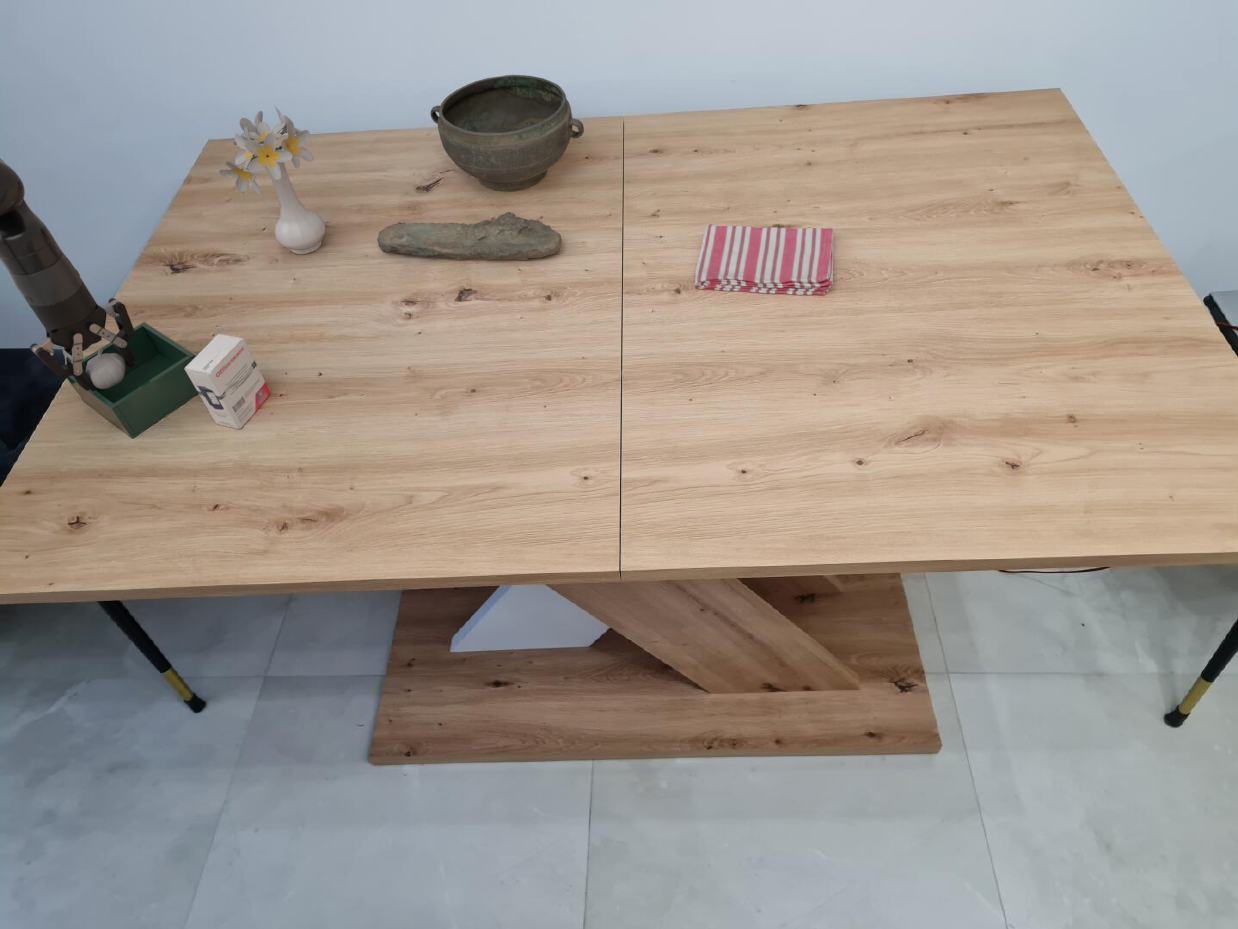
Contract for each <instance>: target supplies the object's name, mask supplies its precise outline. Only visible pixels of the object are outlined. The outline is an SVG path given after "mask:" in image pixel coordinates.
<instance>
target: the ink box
mask: <svg viewBox="0 0 1238 929" xmlns="http://www.w3.org/2000/svg"><path fill="white" fill-rule="evenodd" d="M247 343H248V342H246V339H245V337H239V336H233V335H230V334H224V333H218V334H216V335H215V336H214V338H212V339H211V341H209V343H208V344H206V346H205V347H204V348H203V349H202V350H200V352H199V353H198V354H197V355H195V356H196V357H195V358H194V359H193V360H192V361H191V362H190V363H189V364H188V365H187V366H186V367H185V368H184V369H185V371H186V373H187V374H188V376H189V378H190V379H191V381H192V383H193V385H194V386H195V388H196V390H197V391H198V393H199V394H198V395H199V397H200V399H201V400H202V402H203V403H204V406H205V407H206V409H207V410H208V413H209V414H210V416H211V417H212V419H213V421H214V423H215V424H216V425H221V426H223V427H228V428H231V429H236V430H241V429H242V428H243V427H244V426H245V425H246V423H248V421H249V420H250V419H251V417H252V416H253V415H254V414H255V413H256V412H257V411H258V409H259V408H260V407H261V406H262V405H263V404H264V403H265V401H266V400H267V399H268V398H269V397H270V396H271V394H272V393H271V391H270V389H269V387H268V384H267V383H266V381H265V379H264V376H263V375H262V372H261V370H260V368H259V366H258V363H257V361H256V360H255V358H254V356H253V353H252V352H251V350H250V348H249V344H247Z"/></svg>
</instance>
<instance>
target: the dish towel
mask: <svg viewBox="0 0 1238 929" xmlns="http://www.w3.org/2000/svg"><path fill="white" fill-rule="evenodd" d="M702 235H703V236H702V241H701V246H700V250H699V254H698V258H697V263H696V267H695V274H694V276H695V277H694V284H693V285H694V287H695V288H696V289H698V290H714V291H723V292H749V293H758V294H771V295H776V294H781V295H791V296H793V295H795V296H796V295H798V296H813V295H818V296H825V294H826V292H829V291H830V289H831V288H832V286H833V285H834V228H832V227H831V228H830V227H827V228H822V227H805V228H803V227H800V228H788V227H778V226H777V227H775V226H773V227H772V226H771V227H756V226H749V225H748V226H747V225H745V226H744V225H716V224H714V223H713V224H712V223H710V224H708V225H707V226H705V228H704V232H703V234H702Z"/></svg>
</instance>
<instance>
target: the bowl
mask: <svg viewBox="0 0 1238 929" xmlns="http://www.w3.org/2000/svg"><path fill="white" fill-rule="evenodd" d="M437 113H438V114H437ZM430 117H431V118H430V119H431V120H432V122H433V123H435V124H437V130H438V133H439V138H440V141H441V144H442V147H443V150H444V152H445V153H446V154H447V156H448V158H450V160H451V161H452V162H453V163H454V164H455V165H456V166H457V167H458V168H459V169H460V170H462V171H463V172H464V173H466V174H468V175H470V176H472V177H473V178H476V179H477V180H478V181H479V183H480V184H481V185H482V186H483V187H485V188H486V189H489V190H493V191H494V192H495V191H496V192H504V193H505V192H507V193H511V192H518V191H523V190H526V189H529V188H531V187H534V186H536V185H538V184H539V183H541V182H542V181H543V180H544V179H545V178H546V176H547V174H548V170H549V169H550V168H552V167H553V166H554V165H555V164H557V162H559V160H561V158H562V157H563V156H564V154H565V152H566V151H567V149H568V147H569V144H570V141H571V139H573V140H574V139H579V138H581V137H582V136H583V135H584V132H585V128H584V124H583V122H582V121H581V120H579V119H578V118H573V114H572V107H571V104H570V102H569V100H568V99H567V96H566V93H565V91H564V90H563V88H562V87H561V86H560V85H559V84H557V83H555V82H553V81H551V80H548V79H546V78H543V77H539V76H533V75H525V74H506V75H501V76H493V77H487V78H483V79H479V80H476V81H473V82H470V83H468V84H465V85H463V86H461V87H460V88H458V89H456V90H454V91H453V92H451V93H449V94H448V95H447V96H446V97H445V98H444V99H443V100H442V102H441V104H440V105H435V106H433V107H432V108H431V110H430ZM573 127H575V128H577V130H578V131H576V130H573Z"/></svg>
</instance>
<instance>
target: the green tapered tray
mask: <svg viewBox="0 0 1238 929" xmlns="http://www.w3.org/2000/svg"><path fill="white" fill-rule="evenodd" d="M133 328H134V331H135V333H136V335H135V337H134V338H130V339H129V341H128V343H127V345H128V347H129V348H130V350H131V352H132V353H133V355H134V356H135V361H134V362H133V363H134V364H135V366H133V367H131V368H130V367H129V366H127V365H126V367H125V374H124V377H123V379H122V380H121V382H119V383H118V384H116V385H114V386H113V387H110V388H108V389H100V388H97V387H96V386H95V387H96V388H97V390H95V391H94V392H92V391H90V390H88V391H87V390H85V389H83V388H82V387H81V386H80V385H79V384H78V383H77V381H76V380H75V378H74V377H73V376H69V377H68V378H67V379H66V380H67V381H68V382H69V383H70V385H71V387H72V388H73V389H74V391H75V392H76V393H77V395H78V396H79V398H80V399H81V400H82V402H83V403H85V404H86V405H87V406H89V407H90V408H91V409H92V410H94V411H95V412H96V413H98V414H99V415H100V416H101V417H103V418H104V419H106V420H107V421H108V422H109V423H110V424H112V425H113V426H115V427H116V428H117V429H119V431H121V432H122V433H124V434H125V435H127V436H128V437H129V438H130V439H133V440H134V438H136V437H137V436H139V435H140V434H142V433H144V432H145V431H146V430H147V429H149V428H151V427H152V426H154V425H155V424H157V423H158V422H159V421H161V420H163V419H164V418H166V417H167V416H168V415H170V414H171V413H173V412H174V411H176V410H178V409H179V408H180V407H182V406H183V405H185V404H186V403H188V402H189V401H190V400H192V399H193V398H195V397H196V396H198V395H199V393H198V391H197V390H196V388H195V386H194V385H193V383H192V381H191V379H190V378H189V376H188V374H187V373H186V371H185V369H184V368H185V367H186V366H187V365H188V364H189V363H190V362H191V361H192V360H193V359H194V358H195V357H196V356H197V355H196V354H195V353H193V352H192V351H190V350H188V349H187V348H186V347H184V346H183V345H180V344H179V343H178V342H176V341H174V340H173V339H171V338H170V337H168V336H167V335H166V334H164V333H162V332H160V331H159V330H157V329H156V328H155V327H153V326H151V325H150V324H149V323H147V322H145V321H143V322H141V323H139V324H138V325H137V326H135V327H133ZM113 345H114V344H113V343H111V342H110V341H109V342H108V343H107V344H105V345H103V346H102V347H100V348H99V349H102V350H103V352H102V354H106V353H107V354H111V353H117V351H116V350H115V348H114V346H113ZM99 349H97V350H95V351H93V352H92V353H91V354H89V355H87V356H86V357H83V360H82V370H83V371H86V366H87V363H88V361H89V360H91V359H92V358H93V357H95V356H97V355H98V351H99ZM117 354H118V353H117Z"/></svg>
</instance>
